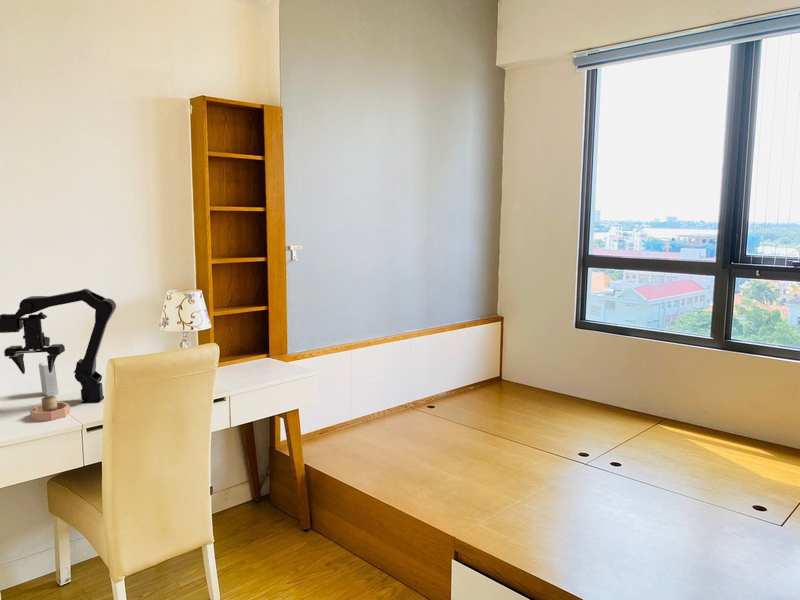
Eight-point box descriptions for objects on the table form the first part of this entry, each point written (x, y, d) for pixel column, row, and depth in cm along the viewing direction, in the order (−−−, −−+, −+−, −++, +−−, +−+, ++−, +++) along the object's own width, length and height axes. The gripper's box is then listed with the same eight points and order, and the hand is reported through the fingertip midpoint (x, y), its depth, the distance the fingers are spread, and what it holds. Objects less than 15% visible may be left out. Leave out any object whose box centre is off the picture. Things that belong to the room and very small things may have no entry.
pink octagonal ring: (73, 409, 227) (72, 401, 226) (61, 420, 216) (60, 411, 216) (40, 411, 225) (39, 403, 225) (26, 421, 214) (25, 413, 214)
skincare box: (59, 393, 246) (56, 363, 244) (46, 396, 243) (43, 366, 241) (53, 390, 250) (50, 361, 249) (41, 393, 247) (38, 363, 245)
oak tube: (60, 413, 223) (58, 395, 222) (55, 417, 219) (53, 399, 218) (46, 413, 223) (44, 395, 222) (40, 418, 218) (39, 399, 217)
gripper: (68, 326, 238) (72, 366, 241) (15, 328, 236) (20, 368, 238) (56, 332, 227) (60, 374, 230) (1, 334, 225) (5, 376, 227)
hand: (37, 373), depth 231 cm, fingers open, 9 cm apart
